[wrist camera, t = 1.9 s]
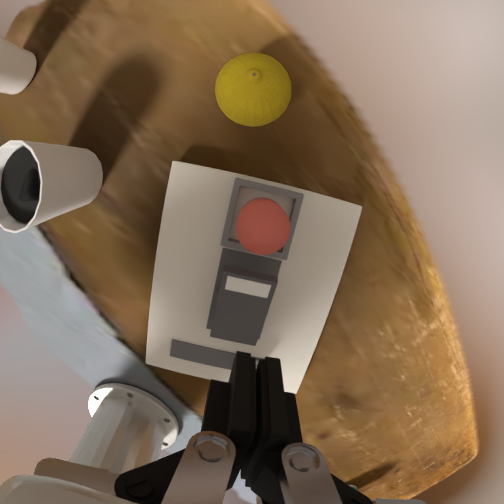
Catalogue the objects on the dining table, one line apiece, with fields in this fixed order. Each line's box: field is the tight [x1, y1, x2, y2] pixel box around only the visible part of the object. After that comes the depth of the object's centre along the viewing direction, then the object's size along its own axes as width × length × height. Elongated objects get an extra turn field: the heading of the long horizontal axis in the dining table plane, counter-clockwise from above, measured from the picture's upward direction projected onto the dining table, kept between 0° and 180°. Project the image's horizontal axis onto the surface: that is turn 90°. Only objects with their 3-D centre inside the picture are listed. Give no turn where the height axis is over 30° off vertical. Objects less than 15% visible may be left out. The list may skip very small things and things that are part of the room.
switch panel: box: [146, 161, 362, 394], centre depth 26 cm, size 20×16×4 cm
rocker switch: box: [210, 265, 278, 346], centre depth 24 cm, size 7×4×1 cm, turn 167°
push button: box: [236, 197, 290, 255], centre depth 21 cm, size 4×4×3 cm
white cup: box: [0, 140, 103, 233], centre depth 20 cm, size 7×7×10 cm
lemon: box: [215, 53, 292, 127], centre depth 20 cm, size 6×6×8 cm
